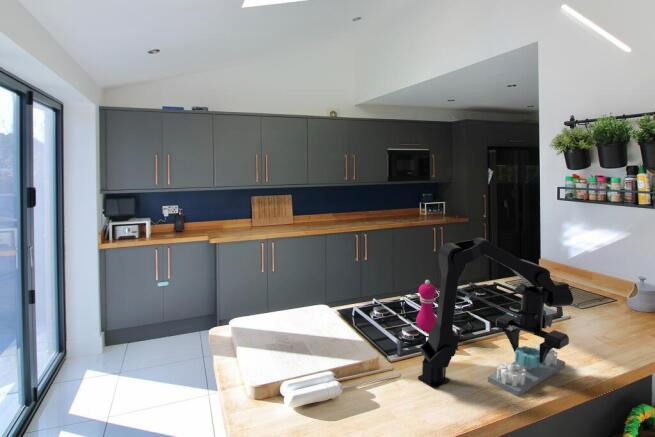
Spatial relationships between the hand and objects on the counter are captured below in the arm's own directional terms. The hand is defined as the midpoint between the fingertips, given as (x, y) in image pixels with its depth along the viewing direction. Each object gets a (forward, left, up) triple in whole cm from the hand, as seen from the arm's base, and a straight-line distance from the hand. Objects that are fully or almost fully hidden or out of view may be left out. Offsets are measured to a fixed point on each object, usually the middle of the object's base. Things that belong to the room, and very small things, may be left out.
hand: (528, 357), depth 117 cm
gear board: (0, 0, -5) cm, 5 cm away
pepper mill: (-3, +36, -5) cm, 36 cm away
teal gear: (0, 0, -1) cm, 1 cm away
